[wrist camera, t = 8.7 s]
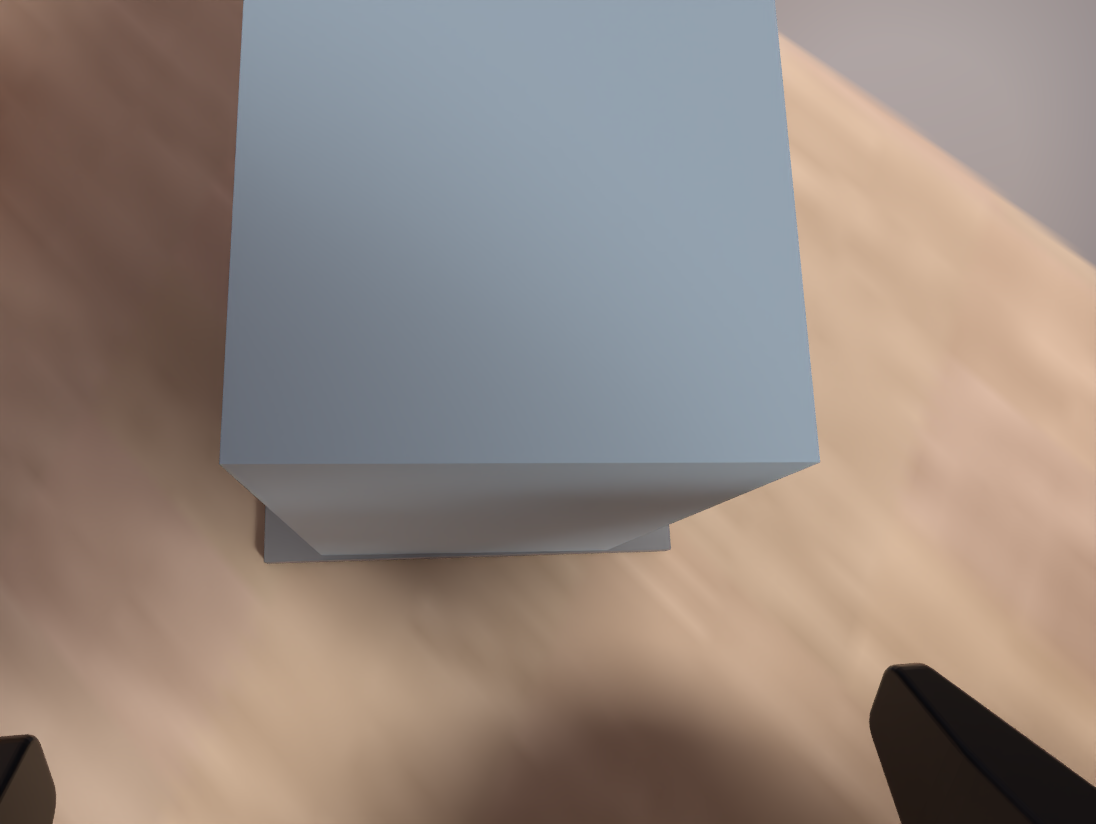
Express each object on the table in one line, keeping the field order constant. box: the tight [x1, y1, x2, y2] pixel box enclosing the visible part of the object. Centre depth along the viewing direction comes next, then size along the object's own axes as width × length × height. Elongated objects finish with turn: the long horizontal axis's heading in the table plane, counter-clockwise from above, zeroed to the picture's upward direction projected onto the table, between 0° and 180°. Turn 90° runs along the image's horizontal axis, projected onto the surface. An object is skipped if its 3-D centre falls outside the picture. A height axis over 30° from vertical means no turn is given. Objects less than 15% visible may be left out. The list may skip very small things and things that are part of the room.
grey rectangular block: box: [219, 0, 820, 555], centre depth 14 cm, size 8×6×10 cm
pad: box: [264, 506, 671, 564], centre depth 19 cm, size 8×8×1 cm
